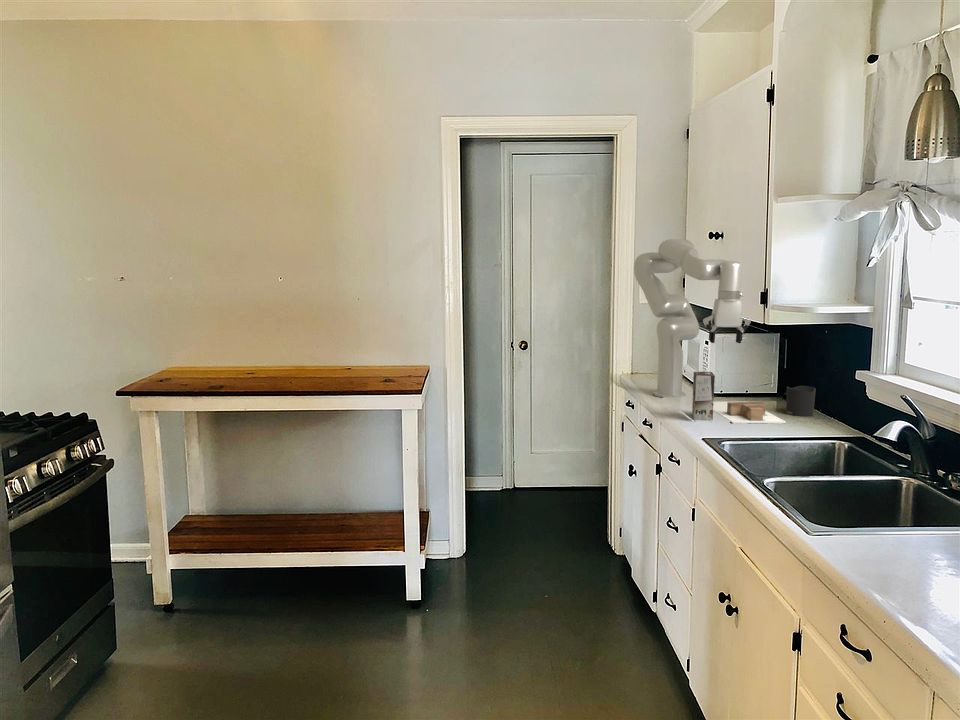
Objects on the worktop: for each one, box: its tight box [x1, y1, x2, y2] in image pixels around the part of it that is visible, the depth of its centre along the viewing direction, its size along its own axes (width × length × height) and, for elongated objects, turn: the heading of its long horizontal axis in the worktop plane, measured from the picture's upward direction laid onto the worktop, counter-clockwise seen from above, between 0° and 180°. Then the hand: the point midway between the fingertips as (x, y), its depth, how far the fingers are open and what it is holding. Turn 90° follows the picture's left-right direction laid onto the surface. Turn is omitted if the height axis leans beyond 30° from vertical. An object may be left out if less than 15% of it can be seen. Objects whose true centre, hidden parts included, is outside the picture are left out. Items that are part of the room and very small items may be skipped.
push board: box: [713, 401, 787, 425], centre depth 267 cm, size 34×18×1 cm, turn 1°
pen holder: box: [785, 385, 817, 418], centre depth 261 cm, size 9×9×10 cm
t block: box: [727, 401, 767, 421], centre depth 257 cm, size 12×12×4 cm
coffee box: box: [691, 371, 716, 422], centre depth 256 cm, size 9×6×16 cm
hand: (725, 342), depth 270 cm, fingers open, 9 cm apart
